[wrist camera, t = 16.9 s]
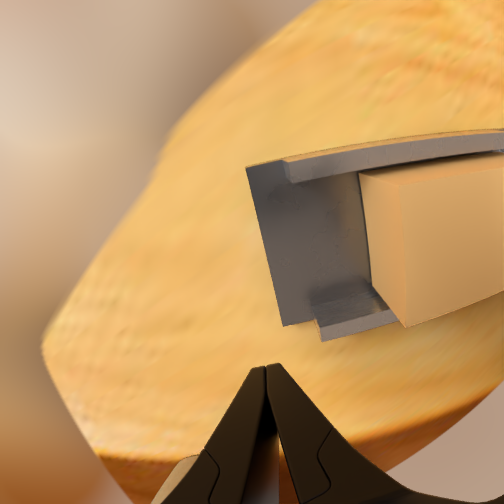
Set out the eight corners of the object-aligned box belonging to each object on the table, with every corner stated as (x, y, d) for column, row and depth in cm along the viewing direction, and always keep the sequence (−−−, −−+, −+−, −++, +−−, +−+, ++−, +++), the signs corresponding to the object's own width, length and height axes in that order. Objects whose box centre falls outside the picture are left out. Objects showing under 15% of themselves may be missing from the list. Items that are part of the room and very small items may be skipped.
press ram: (496, 151, 16) (547, 161, 11) (498, 246, 18) (541, 272, 13) (358, 172, 16) (398, 185, 12) (372, 285, 19) (405, 328, 14)
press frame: (540, 127, 16) (600, 136, 9) (542, 238, 19) (593, 266, 13) (245, 166, 17) (244, 181, 11) (281, 318, 21) (295, 392, 14)
